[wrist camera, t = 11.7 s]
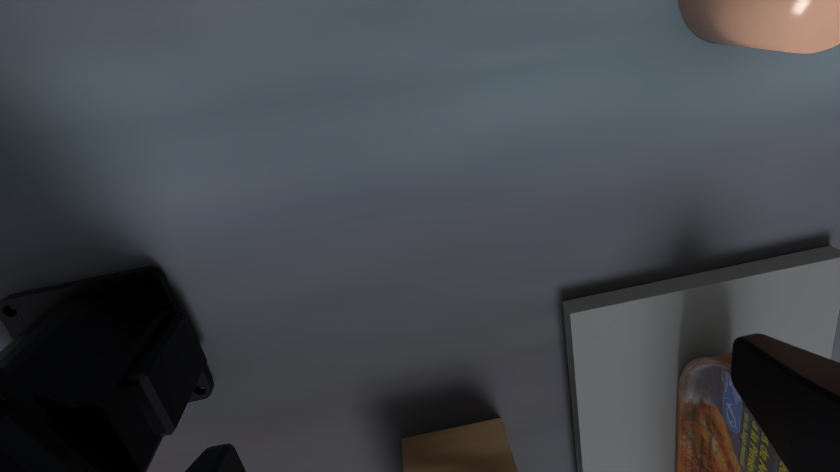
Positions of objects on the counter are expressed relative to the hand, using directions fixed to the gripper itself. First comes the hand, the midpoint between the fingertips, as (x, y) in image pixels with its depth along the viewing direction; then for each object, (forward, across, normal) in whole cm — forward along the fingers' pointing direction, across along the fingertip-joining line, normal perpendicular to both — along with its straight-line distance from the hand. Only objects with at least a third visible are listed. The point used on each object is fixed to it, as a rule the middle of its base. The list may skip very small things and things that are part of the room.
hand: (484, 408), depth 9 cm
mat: (+12, -11, +16) cm, 23 cm away
